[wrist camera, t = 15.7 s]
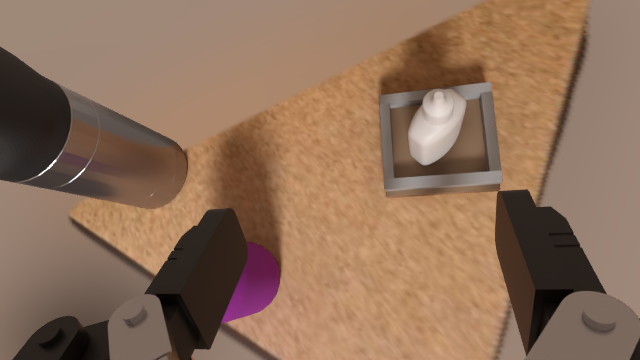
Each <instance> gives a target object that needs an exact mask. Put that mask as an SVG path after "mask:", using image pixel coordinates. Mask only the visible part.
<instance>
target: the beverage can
mask: <svg viewBox="0 0 640 360" xmlns="http://www.w3.org/2000/svg"><path fill="white" fill-rule="evenodd" d="M246 243H247V247H248V259H247V263H246V265H245V267H244V270H243V272H242V275H241V277H240V279H239V282H238V284H237V286H236V289H235V291H234V293H233V296H232V298H231V301H230V303H229V305H228V308H227V310H226V312H225V315H224V317H223V320H222V322H221V323H225V322H228V321H231V320H235V319H238V318H242V317H245V316H248V315H251V314H254V313H257V312H260V311H261V310H263V309H264V308H265V307H266V306H268V305H269V304H270V303H271V302H272V300H273V299H274V297H275V296H276V294H277V291H278V288H279V284H280V271H279V267H278V264H277V261H276V260H275V258H274V257H273V255H272V254H271V252H269V251H268V250H267V249H265V248H264V247H263V246H260V245H257V244H254V243H251V242H246ZM167 261H168V260H167Z"/></svg>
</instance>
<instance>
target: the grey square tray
mask: <svg viewBox="0 0 640 360" xmlns="http://www.w3.org/2000/svg"><path fill="white" fill-rule="evenodd" d="M436 89H444V90H445V89H452V90H454V91H456V92H457V93H459V94H460V95H461V96H463V97H464V98H465V100H466V109H465V113H464V117H463V121H462V125H461V129H460V132H459V135H458V137H457V139H456V141H455V143H454V144H453V146H452V147H451V149H450V150H449V151H448V152H447V153H446V154H445V155H444V156H442V157H441V158H440V159H438V160H437V161H435V162H433V163H431V164H429V165H422V164H420V163H419V162H418V161H417V160H415V159H414V158H413V157H412V156H411V155H410V150H409V141H408V130H409V126H410V124H411V121H412V119H413V117H414V115H415V113H416V112H417V110H418V109H419V108H420V107H421V105H422V103H423V98H424V97H425V95H426V94H427V93H428V92H430V91H431V90H434V89H428V90H419V91H411V92H403V93H394V94H386V95H379V102H380V119H381V137H382V155H383V172H384V189H385V191H386V197H387V198H393V197H409V196H426V195H442V194H458V193H474V192H491V191H499V190H500V183H501V182H502V181H503V180H502V172H501V163H500V155H499V146H498V138H497V130H496V121H495V113H494V104H493V96H492V87H491V82H486V83H477V84H469V85H461V86H452V87H444V88H436Z"/></svg>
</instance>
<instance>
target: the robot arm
mask: <svg viewBox="0 0 640 360" xmlns="http://www.w3.org/2000/svg"><path fill="white" fill-rule="evenodd" d="M186 173H187V161H186V158H185V154H184V152H183V150H182V148H181V147H180V146H179V145H178V144H177V143H176V142H174V141H173V140H171V139H169V138H167V137H165V136H163V135H161V134H159V133H157V132H155V131H153V130H151V129H149V128H147V127H145V126H143V125H141V124H139V123H137V122H135V121H133V120H131V119H129V118H127V117H125V116H123V115H121V114H119V113H117V112H115V111H113V110H111V109H109V108H106V107H104V106H102V105H100V104H98V103H96V102H94V101H92V100H90V99H88V98H86V97H84V96H82V95H80V94H78V93H76V92H74V91H71V90H69V89H67V88H65V87H63V86H61V85H59V84H57V83H55V82H53V81H51V80H49V79H47V78H45V77H43V76H41V75H40V74H38V73H37V72H36V71H35V70H33V69H32V68H31V67H29V66H28V65H26V64H25V63H24V62H22V61H21V60H20V59H18V58H17V57H16V56H14V55H13V54H11V53H10V52H8V51H6V50H5V49H3V48H1V47H0V180H4V181H9V182H14V183H19V184H24V185H29V186H34V187H39V188H45V189H50V190H56V191H60V192H65V193H70V194H75V195H80V196H85V197H90V198H95V199H100V200H105V201H110V202H116V203H120V204H125V205H130V206H135V207H141V208H146V209H155V208H158V207H162V206H164V205H165V204H167V203H169V202H170V201H171V200H172V199H174V198H175V196H176V195H177V194H178V193H179V192H180V190H181V188H182V186H183V184H184V181H185V178H186ZM495 242H496V250H497V255H498V258H499V262H500V265H501V269H502V272H503V276H504V279H505V283H506V286H507V290H508V293H509V297H510V300H511V304H512V307H513V311H514V314H515V318H516V321H517V324H518V328H519V332H520V335H521V339H522V342H523V346H524V349H525V353H526V358H525V360H640V319H639V318H638V316H637V315H636V314H635V313H634V311H633V310H632V309H631V308H630V307H629V306H627V305H626V304H625V303H623V302H622V301H620V300H618V299H616V298H614V297H612V296H609V295H607V294H606V292H605V290H604V288H603V286H602V285H601V283H600V281H599V279H598V277H597V275H596V273H595V272H594V270H593V268H592V266H591V264H590V262H589V260H588V259H587V257H586V255H585V253H584V251H583V249H582V248H580V244H579V242H578V240H577V238H576V236H574V234H573V231H572V229H571V227H570V225H569V223H568V221H567V220H566V218H565V217H563V216H562V215H561V214H560V213H558V212H557V211H556V210H554V209H553V208H552V207H536V205H535V203H534V201H533V199H532V197H531V195H530V192H529V191H528V190H510V191H498V193H497V204H496V225H495ZM247 259H248V247H247V243H246V240H245V237H244V235H243V232H242V229H241V227H240V224H239V222H238V219H237V216H236V214H235V212H234V210H233V209H231V208H228V209H212V210H208V211H207V212H206V213H205V215H204V216H203V218H202V219H201V221H200V223H199V224H198V226H193V227H192V228H191V229H190V230H189V231H188V232H186V233H185V234H184V235H183V236H182V237H181V238H180V240H179V241H178V243H177V244H176V246H175V248H174V251H172V252H171V254H170V255H169V257H168V261H165V263H164V264H163V266H162V267H161V269H160V271H159V272H158V274H157V275H156V277H155V278H154V280H153V281H152V283H151V284H150V286H149V287H148V289H147V291H146V292H145V294H144V295H140V296H137V297H134V298H132V299H130V300H128V301H126V302H125V303H123V304H122V305H121V306H120V307H119V308H118V309H117V310H116V311H115V312H114V313H113V315H112V316H111V318H110V320H108V321H104V322H100V323H97V324H93V325H90V326H86V327H83V326H82V325H81V324H80V322H79V321H78V320H77V318H75V317H72V316H65V317H60V318H57V319H55V320H53V321H51V322H49V323H47V324H45V325H44V326H43V327H41V328H40V329H38V330H37V331H36V332H35V333H34V334H33V335H32V336H31V337H30V339H29V340H28V341H27V342H26V343H25V345H24V346H23V347H22V349H21V350H20V351H19V352H18V354H17V355H16V356H15V357H14V359H13V360H194V358H193V356H192V354H193V351H194V349H210V348H211V345H212V343H213V341H214V338H215V336H216V334H217V331H218V329H219V327H220V324H221V322H222V320H223V317H224V315H225V312H226V310H227V308H228V305H229V303H230V301H231V298H232V296H233V293H234V291H235V289H236V286H237V284H238V282H239V279H240V277H241V275H242V272H243V270H244V267H245V265H246V263H247Z"/></svg>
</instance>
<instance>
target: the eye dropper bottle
mask: <svg viewBox="0 0 640 360" xmlns="http://www.w3.org/2000/svg"><path fill="white" fill-rule="evenodd" d="M465 109H466V100H465V98H464V97H463V96H461V95H460V94H459V93H457V92H456V91H454V90H452V89H445V90H444V89H434V90H431V91H430V92H428V93H427V94H426V95H425V97H424V98H423V103H422V105H421V107H420V108H419V109H418V110H417V112H416V113H415V115H414V117H413V119H412V121H411V124H410V126H409V130H408V141H409V150H410V155H411V156H412V157H413V158H414V159H415V160H417V161H418V162H419V163H420V164H422V165H429V164H431V163H433V162H435V161H437V160H438V159H440V158H441V157H442V156H444V155H445V154H446V153H447V152H448V151H449V150H450V149H451V147H452V146H453V144H454V143H455V141H456V139H457V137H458V135H459V132H460V129H461V125H462V121H463V117H464V113H465Z"/></svg>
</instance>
